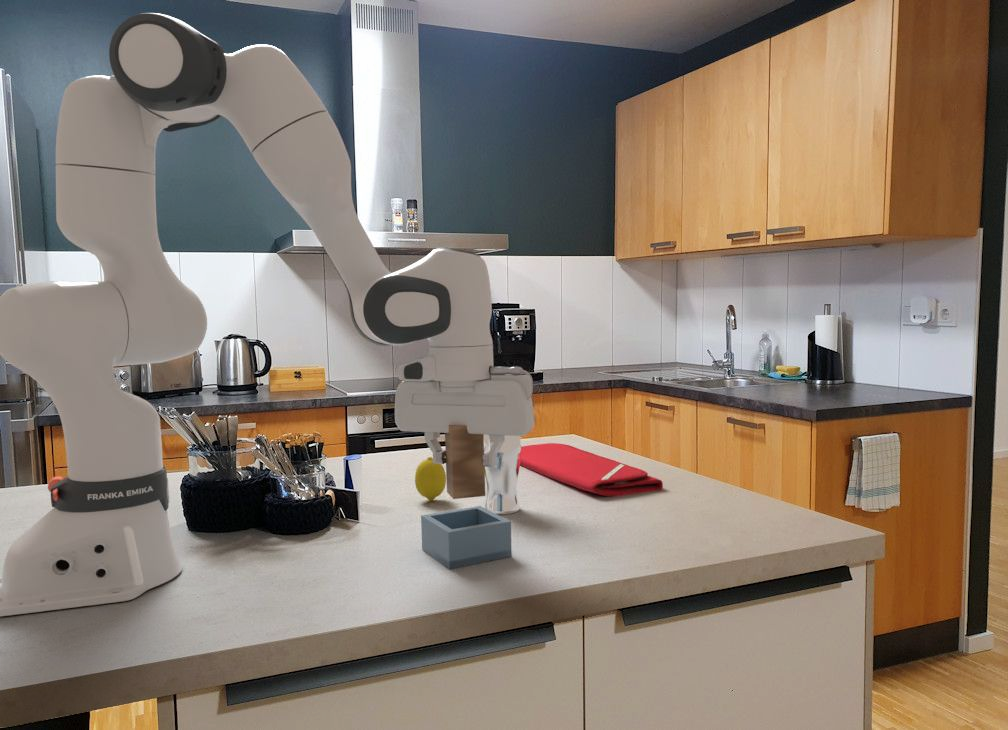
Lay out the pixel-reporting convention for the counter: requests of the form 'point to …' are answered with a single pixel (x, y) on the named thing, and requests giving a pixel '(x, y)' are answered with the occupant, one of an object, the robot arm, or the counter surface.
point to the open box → (466, 536)
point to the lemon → (430, 479)
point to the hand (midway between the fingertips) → (464, 464)
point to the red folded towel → (587, 470)
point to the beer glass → (503, 476)
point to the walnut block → (464, 463)
